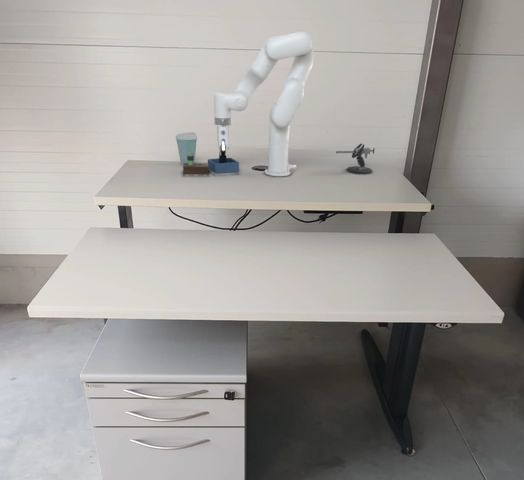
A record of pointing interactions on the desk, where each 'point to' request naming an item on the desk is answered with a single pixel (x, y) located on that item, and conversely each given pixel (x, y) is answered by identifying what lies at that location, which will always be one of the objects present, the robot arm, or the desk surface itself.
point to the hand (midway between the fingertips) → (222, 162)
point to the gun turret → (359, 159)
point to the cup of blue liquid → (186, 145)
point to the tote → (223, 166)
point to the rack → (195, 168)
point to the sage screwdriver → (190, 158)
